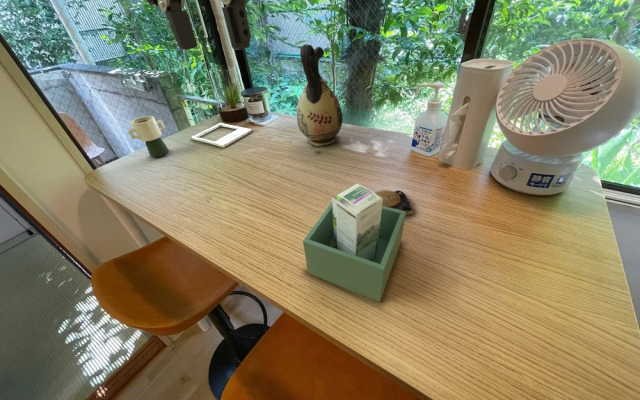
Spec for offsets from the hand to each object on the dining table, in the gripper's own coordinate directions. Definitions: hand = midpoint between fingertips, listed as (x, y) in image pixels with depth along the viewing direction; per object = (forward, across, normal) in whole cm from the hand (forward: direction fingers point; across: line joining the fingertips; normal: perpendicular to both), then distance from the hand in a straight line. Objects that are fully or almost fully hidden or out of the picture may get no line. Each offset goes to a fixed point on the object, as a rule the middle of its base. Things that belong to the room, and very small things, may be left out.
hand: (214, 48), depth 30 cm
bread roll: (+36, +17, +22) cm, 46 cm away
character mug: (+36, -65, +20) cm, 77 cm away
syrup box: (+36, +16, +5) cm, 39 cm away
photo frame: (+36, -54, +40) cm, 76 cm away
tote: (+36, +16, +5) cm, 40 cm away
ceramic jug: (+36, -14, +48) cm, 62 cm away
